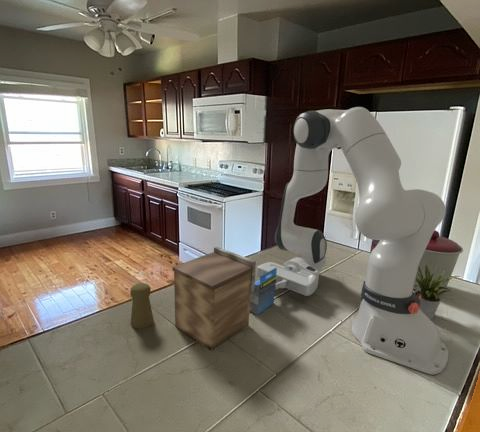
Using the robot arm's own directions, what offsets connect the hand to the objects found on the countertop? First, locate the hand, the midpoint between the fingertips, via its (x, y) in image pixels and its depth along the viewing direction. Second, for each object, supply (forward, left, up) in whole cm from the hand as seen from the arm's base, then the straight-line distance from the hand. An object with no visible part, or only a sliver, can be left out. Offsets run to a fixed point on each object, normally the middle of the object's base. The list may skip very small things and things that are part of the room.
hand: (271, 285), depth 97 cm
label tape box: (0, +4, -6) cm, 7 cm away
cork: (+19, +33, -6) cm, 39 cm away
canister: (-33, -47, -6) cm, 57 cm away
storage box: (+4, +21, -5) cm, 22 cm away
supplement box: (-16, -52, -6) cm, 54 cm away
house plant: (-36, -27, -6) cm, 45 cm away
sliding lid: (+4, +21, +4) cm, 22 cm away
